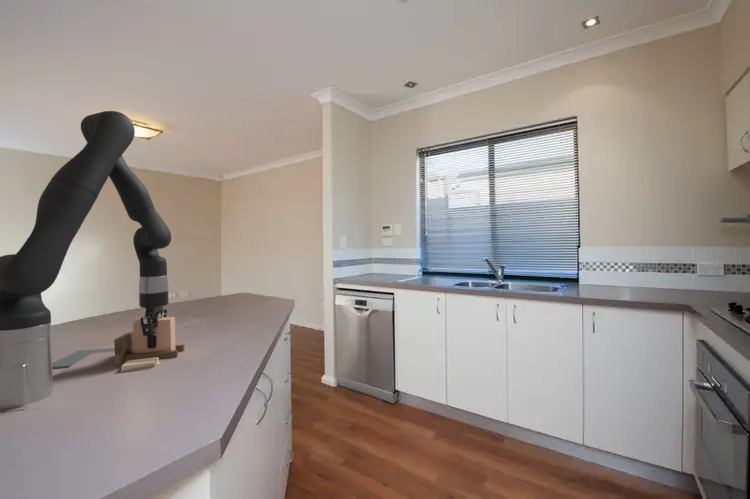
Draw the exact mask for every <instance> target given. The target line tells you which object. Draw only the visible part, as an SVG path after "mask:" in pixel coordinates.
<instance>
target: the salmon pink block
mask: <svg viewBox="0 0 750 499" xmlns="http://www.w3.org/2000/svg"><path fill="white" fill-rule="evenodd" d="M140 319H141V318H138V319H136V320H134V321H132V330H133V340H134V354H136V353H148V352H160V351H172V350H176V345H177V344H176V317H175V316H169V317H168V316H167V317H165V318H160V319H159V320H158V328H157V334H156V343H157V346H156V348H151V349H148V347H147V336H143V332H142V327H141V322H140ZM155 324H156V323H155ZM155 324H153V325H155ZM153 330H154V328H153ZM149 331H150V329H149Z"/></svg>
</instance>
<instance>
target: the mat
mask: <svg viewBox="0 0 750 499" xmlns="http://www.w3.org/2000/svg"><path fill="white" fill-rule="evenodd" d="M111 352H115V347H110V348H108V347H107V348H98V349H97V348H95V349H85V350H84V349H82V350H77V351H75V352H72V353H71V354H68V355H66V356H64V357H62V358H59V359H58V360H56V361H54V362H53V361H52V370H53V369H62V368H63V369H65V368H70V367H71V366H73V365H75V364H77V363H78V362H80V361H82V360H83V359H85V358H87V357H89V356H90V355H92V354H100V353H111Z"/></svg>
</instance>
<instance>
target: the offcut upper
mask: <svg viewBox="0 0 750 499" xmlns="http://www.w3.org/2000/svg"><path fill="white" fill-rule="evenodd" d="M159 362H160V360H159V357H156V358H147V359H138V360H130V361H126V362H123V363H122V364H121V366H120V368H121V370H120V371H121V372H122V371H125V372H131V371H130V370H135V371H140V370H139V369H146V370H148V369H147V368H154V369H155V368H156V367H157V366H158V365H159V364H158V363H159ZM157 364H158V365H157ZM156 365H157V366H156ZM155 366H156V367H155ZM121 372H120V373H121ZM122 373H123V372H122Z"/></svg>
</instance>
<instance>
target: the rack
mask: <svg viewBox="0 0 750 499" xmlns="http://www.w3.org/2000/svg"><path fill="white" fill-rule="evenodd" d="M113 343H114V347H113V348H115V351H114V366H119V365H123V364H124V363H125V362H126V361H130V360H138V359H147V358H156V357H159V359H172V358H175V359H176V358H178V357H179V352H185V344H176V350H172V351H160V352H148V353H136V354H134V340H133V329H132V330H131V331H129V332H126V333H124V334H123V335H121V336H119V337H117V338H114V342H113Z"/></svg>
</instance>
